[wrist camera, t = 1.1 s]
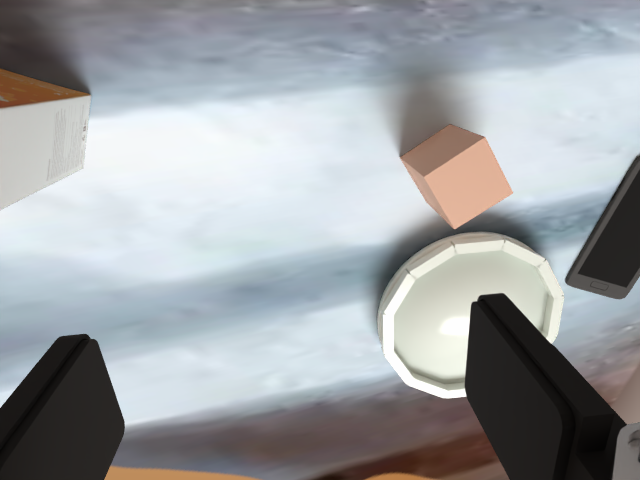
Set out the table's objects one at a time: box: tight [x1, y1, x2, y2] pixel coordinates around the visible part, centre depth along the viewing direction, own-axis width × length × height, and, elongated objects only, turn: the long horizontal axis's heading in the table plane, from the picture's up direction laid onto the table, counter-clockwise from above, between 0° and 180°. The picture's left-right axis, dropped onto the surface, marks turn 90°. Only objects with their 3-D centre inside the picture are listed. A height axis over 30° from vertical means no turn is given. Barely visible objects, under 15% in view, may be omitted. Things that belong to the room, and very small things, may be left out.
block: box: [400, 124, 513, 229], centre depth 35 cm, size 5×5×7 cm
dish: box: [377, 232, 564, 398], centre depth 43 cm, size 18×18×3 cm
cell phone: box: [565, 156, 640, 299], centre depth 42 cm, size 7×14×1 cm, turn 162°
